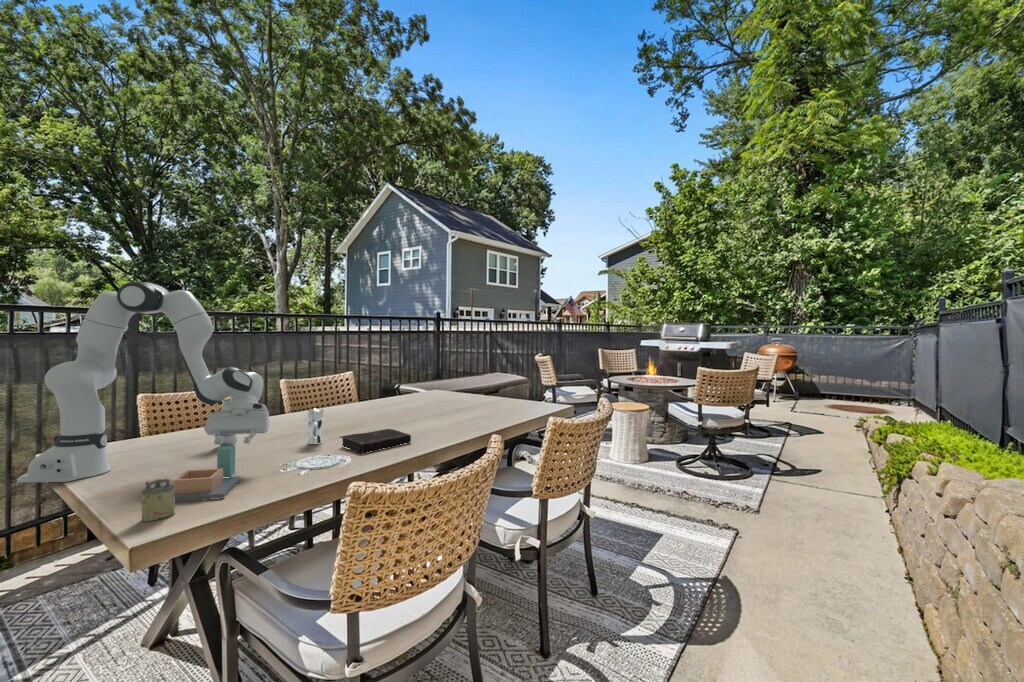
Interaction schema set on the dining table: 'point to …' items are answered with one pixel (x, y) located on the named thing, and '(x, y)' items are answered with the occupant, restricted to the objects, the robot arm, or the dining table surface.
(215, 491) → the holder
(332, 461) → the pendant
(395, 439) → the diary
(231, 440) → the plastic bottle
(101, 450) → the robot arm
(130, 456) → the dining table surface
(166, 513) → the green boxy piece
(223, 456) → the peg
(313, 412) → the beer glass
